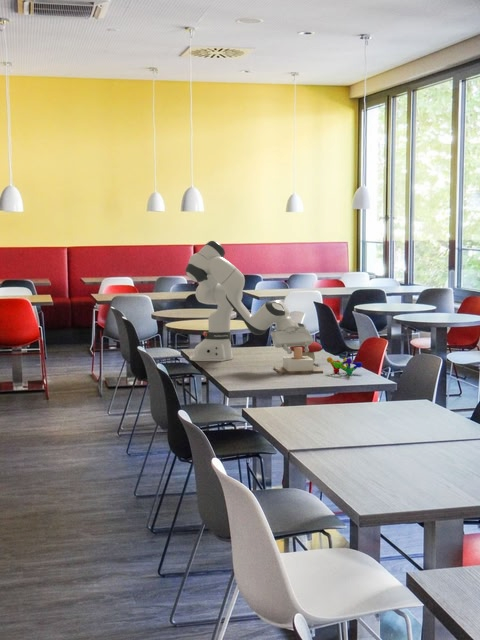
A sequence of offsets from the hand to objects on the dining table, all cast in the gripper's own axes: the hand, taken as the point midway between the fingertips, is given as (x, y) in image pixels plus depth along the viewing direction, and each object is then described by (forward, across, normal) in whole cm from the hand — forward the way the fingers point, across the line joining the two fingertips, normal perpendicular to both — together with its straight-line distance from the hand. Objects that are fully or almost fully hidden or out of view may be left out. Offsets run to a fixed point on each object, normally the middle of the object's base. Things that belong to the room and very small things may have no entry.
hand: (298, 352), depth 398 cm
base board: (+6, 0, +7) cm, 9 cm away
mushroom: (-6, +16, +19) cm, 26 cm away
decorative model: (+19, +14, -6) cm, 24 cm away
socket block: (+6, 0, +7) cm, 9 cm away
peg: (+5, 0, +6) cm, 8 cm away
